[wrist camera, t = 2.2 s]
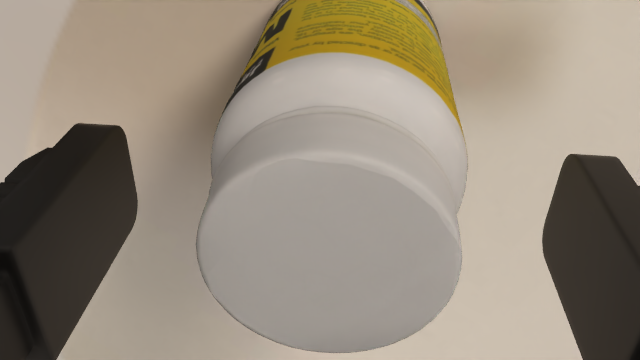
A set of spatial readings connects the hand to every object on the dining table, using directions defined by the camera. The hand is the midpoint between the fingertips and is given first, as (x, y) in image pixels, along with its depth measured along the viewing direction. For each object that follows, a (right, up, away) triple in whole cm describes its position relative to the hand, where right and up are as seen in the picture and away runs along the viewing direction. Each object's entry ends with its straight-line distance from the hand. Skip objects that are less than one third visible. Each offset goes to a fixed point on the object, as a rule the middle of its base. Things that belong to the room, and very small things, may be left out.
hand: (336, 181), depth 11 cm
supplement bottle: (+1, +3, +5) cm, 6 cm away
